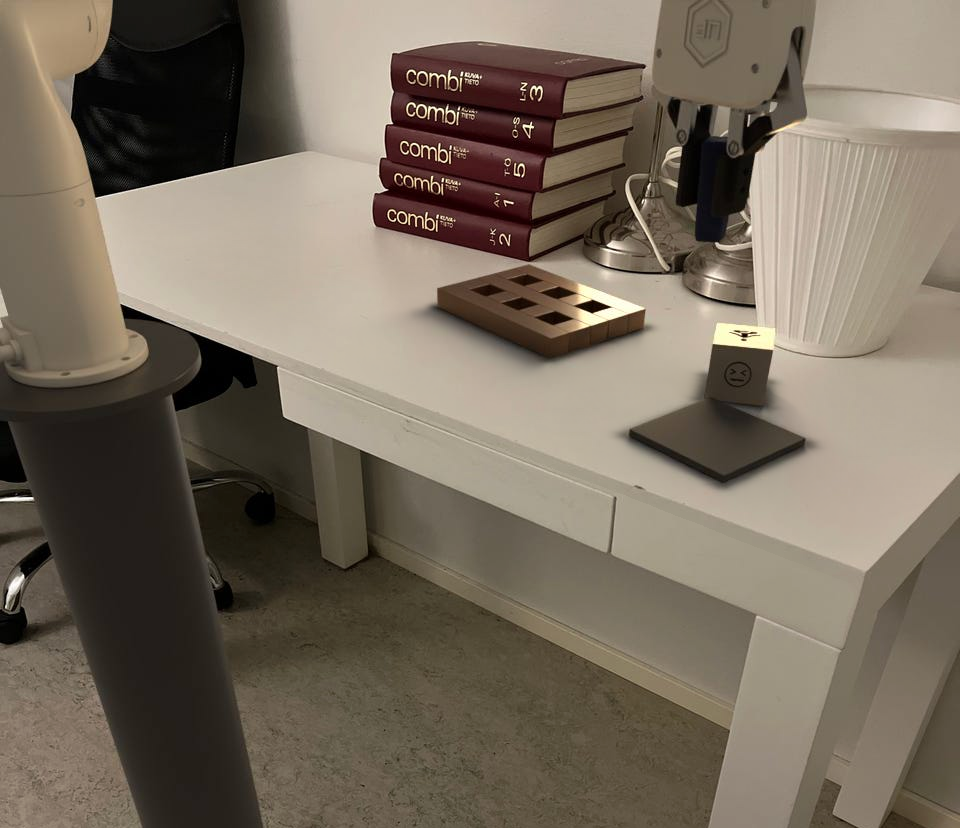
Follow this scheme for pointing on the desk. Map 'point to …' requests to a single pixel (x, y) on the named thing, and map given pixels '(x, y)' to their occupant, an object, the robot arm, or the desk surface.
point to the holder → (541, 310)
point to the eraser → (709, 192)
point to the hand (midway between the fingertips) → (710, 206)
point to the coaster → (717, 438)
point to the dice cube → (740, 363)
